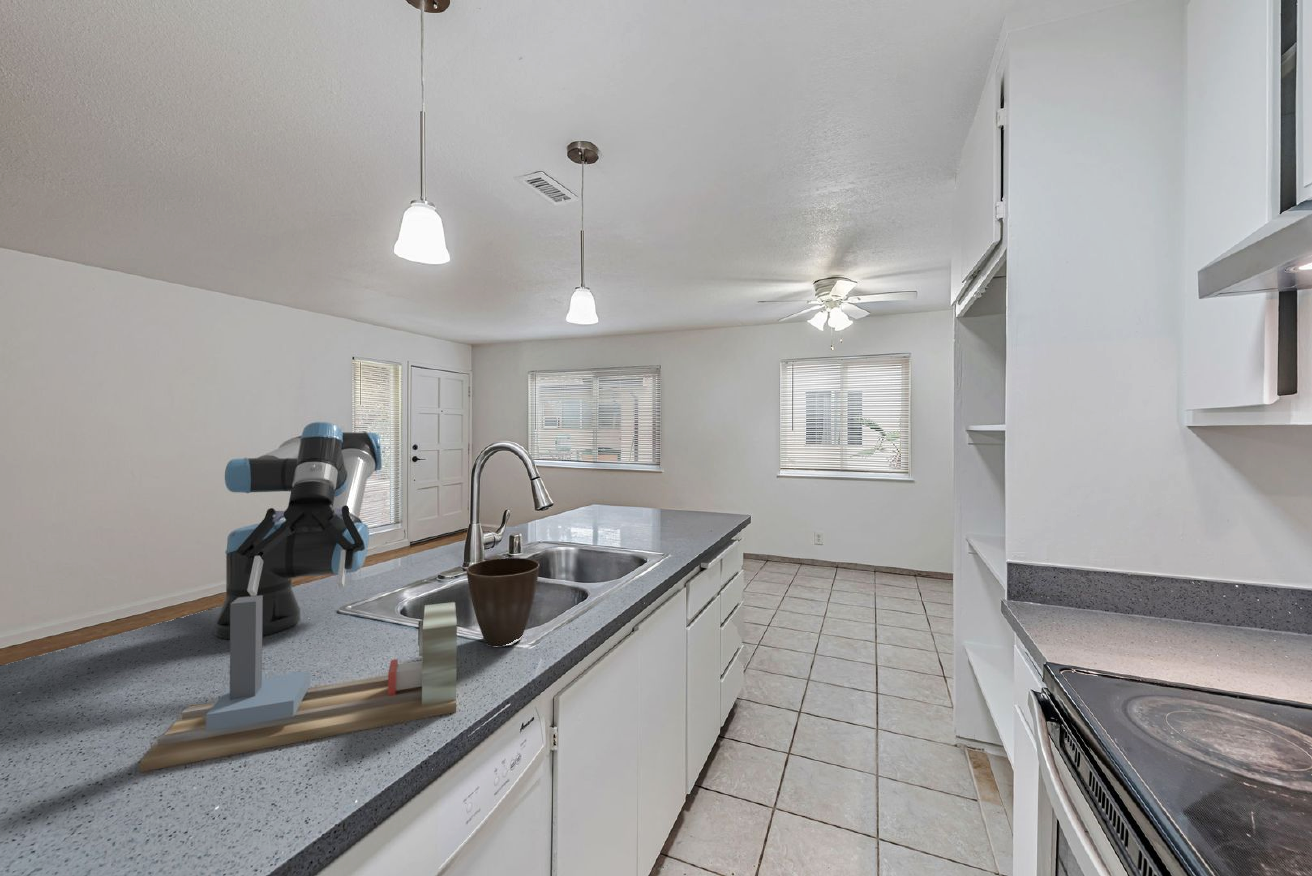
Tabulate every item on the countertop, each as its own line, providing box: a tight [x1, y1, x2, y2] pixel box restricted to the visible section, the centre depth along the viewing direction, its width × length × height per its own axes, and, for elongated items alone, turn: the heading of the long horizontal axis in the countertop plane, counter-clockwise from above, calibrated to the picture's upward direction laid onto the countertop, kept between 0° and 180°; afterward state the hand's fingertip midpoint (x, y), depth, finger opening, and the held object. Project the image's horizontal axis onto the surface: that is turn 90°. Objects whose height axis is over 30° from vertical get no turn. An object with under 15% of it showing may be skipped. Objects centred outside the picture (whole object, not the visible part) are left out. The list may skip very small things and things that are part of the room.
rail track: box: [139, 601, 458, 773], centre depth 79 cm, size 14×38×14 cm, turn 113°
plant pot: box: [466, 557, 540, 647], centre depth 108 cm, size 15×15×16 cm
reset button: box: [387, 658, 422, 696], centre depth 84 cm, size 5×7×4 cm
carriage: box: [206, 595, 311, 732], centre depth 76 cm, size 10×10×16 cm
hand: (297, 589), depth 92 cm, fingers open, 13 cm apart
